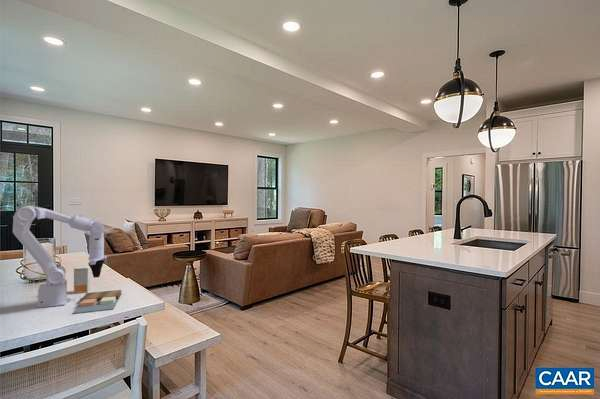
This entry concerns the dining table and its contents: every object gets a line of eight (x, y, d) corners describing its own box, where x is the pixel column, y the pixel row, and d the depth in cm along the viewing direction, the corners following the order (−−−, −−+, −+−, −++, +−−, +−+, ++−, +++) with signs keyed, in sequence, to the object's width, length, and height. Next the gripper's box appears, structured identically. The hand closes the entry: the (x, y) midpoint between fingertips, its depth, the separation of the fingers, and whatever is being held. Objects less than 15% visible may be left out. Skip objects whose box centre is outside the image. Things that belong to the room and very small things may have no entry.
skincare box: (73, 293, 148) (73, 268, 148) (77, 290, 152) (77, 266, 152) (87, 292, 150) (87, 267, 149) (91, 289, 154) (91, 265, 154)
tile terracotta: (79, 307, 130) (79, 303, 130) (83, 303, 135) (83, 299, 135) (93, 305, 132) (93, 302, 132) (96, 301, 136) (96, 298, 136)
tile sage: (100, 304, 133) (100, 301, 133) (102, 300, 138) (102, 297, 138) (113, 303, 135) (113, 300, 135) (115, 299, 139) (115, 296, 139)
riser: (81, 303, 135) (81, 299, 135) (86, 297, 143) (86, 292, 143) (118, 300, 140) (118, 295, 140) (121, 293, 148) (121, 289, 148)
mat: (72, 314, 124) (72, 313, 124) (81, 304, 135) (81, 303, 135) (113, 309, 129) (113, 308, 129) (118, 300, 140) (118, 299, 140)
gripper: (102, 250, 138) (102, 280, 138) (110, 244, 151) (110, 272, 151) (84, 250, 135) (84, 281, 135) (93, 245, 149) (93, 273, 149)
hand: (96, 277), depth 143 cm, fingers closed
